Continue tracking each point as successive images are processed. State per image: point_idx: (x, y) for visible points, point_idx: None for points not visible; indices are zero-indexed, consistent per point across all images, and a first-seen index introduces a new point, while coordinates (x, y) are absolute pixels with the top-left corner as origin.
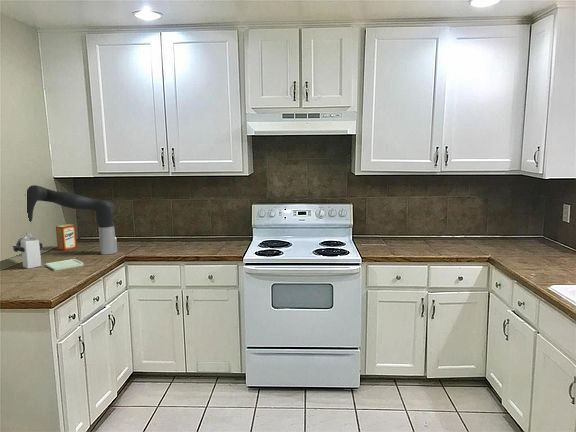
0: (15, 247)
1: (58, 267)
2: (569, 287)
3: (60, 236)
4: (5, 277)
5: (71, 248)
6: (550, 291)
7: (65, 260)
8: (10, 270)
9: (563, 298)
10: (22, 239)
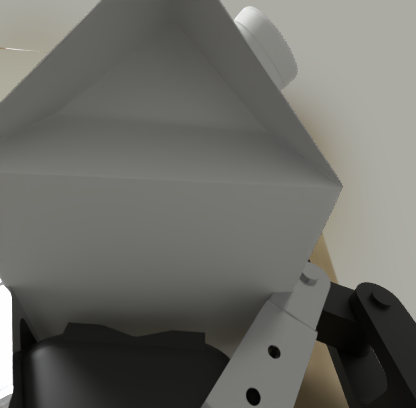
0: (387, 298)
1: None
2: (10, 48)
3: None
4: (320, 236)
5: None
6: (22, 50)
7: None
8: (325, 367)
9: (36, 51)
10: (300, 133)
